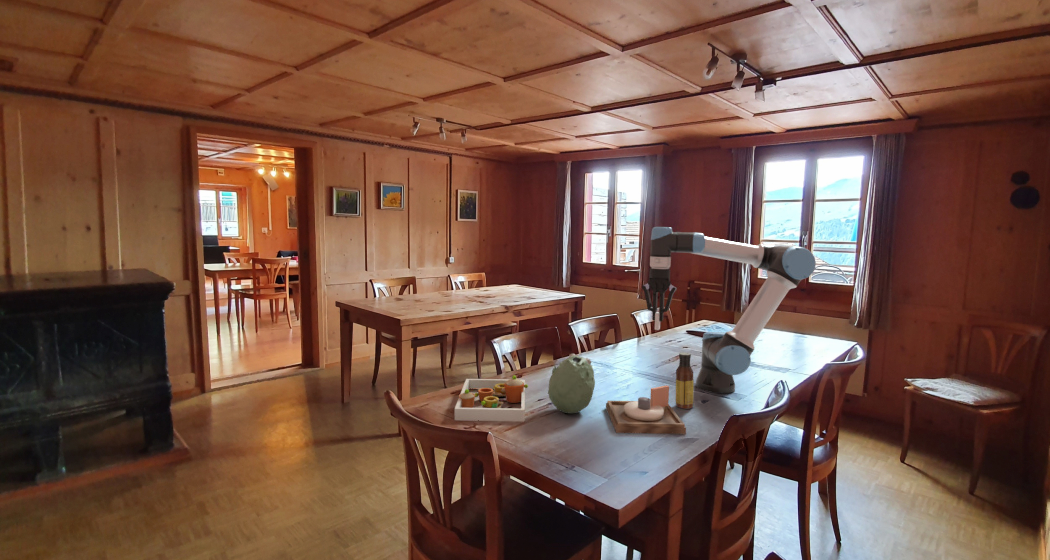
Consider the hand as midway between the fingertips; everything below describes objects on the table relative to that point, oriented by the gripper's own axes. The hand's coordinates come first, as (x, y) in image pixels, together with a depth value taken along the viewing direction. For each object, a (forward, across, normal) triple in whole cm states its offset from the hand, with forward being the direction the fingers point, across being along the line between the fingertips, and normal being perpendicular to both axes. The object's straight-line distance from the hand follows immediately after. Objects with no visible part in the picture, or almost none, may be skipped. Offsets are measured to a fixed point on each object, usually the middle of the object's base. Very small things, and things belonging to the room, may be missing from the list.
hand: (657, 329), depth 195 cm
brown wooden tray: (+26, +2, -27) cm, 38 cm away
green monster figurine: (+27, -22, -32) cm, 47 cm away
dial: (+24, +4, -25) cm, 35 cm away
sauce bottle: (+27, +12, -6) cm, 30 cm away
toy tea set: (+27, -50, -38) cm, 68 cm away
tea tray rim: (+26, -50, -38) cm, 68 cm away
